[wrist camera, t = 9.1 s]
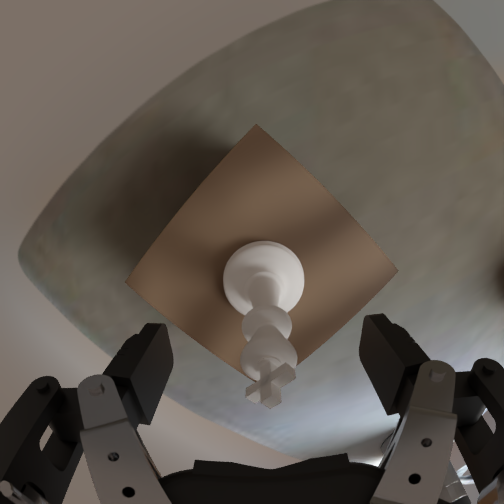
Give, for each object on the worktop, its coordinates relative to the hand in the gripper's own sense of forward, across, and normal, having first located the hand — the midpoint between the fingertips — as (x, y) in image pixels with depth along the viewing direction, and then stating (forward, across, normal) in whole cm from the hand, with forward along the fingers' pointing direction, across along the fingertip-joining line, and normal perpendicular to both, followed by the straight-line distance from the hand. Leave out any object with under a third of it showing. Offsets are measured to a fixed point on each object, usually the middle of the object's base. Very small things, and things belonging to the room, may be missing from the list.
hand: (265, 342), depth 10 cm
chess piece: (+7, 0, 0) cm, 7 cm away
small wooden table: (+14, 0, 0) cm, 14 cm away
